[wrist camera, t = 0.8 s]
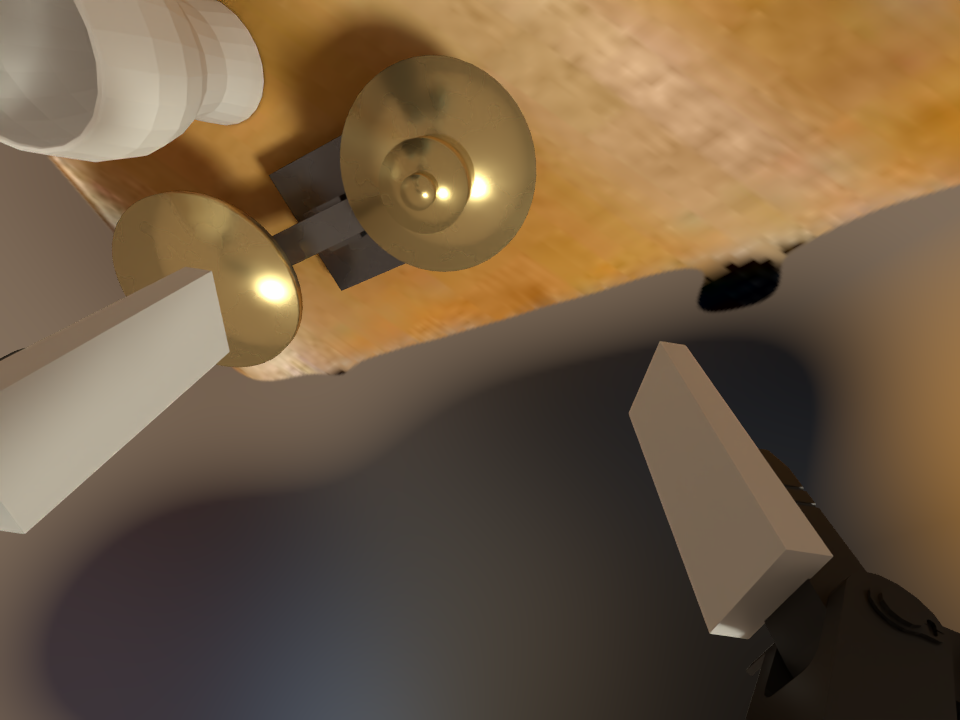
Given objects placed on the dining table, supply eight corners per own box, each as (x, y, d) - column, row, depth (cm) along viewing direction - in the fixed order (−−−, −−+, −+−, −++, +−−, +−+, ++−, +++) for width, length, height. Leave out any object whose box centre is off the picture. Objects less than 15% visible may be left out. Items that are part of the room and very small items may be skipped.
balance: (164, 213, 36) (17, 256, 25) (493, 26, 28) (480, -26, 17) (259, 337, 42) (172, 414, 31) (555, 212, 34) (574, 259, 23)
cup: (112, 62, 30) (-182, 25, 18) (173, -83, 26) (-157, -270, 13) (240, 176, 34) (71, 214, 21) (312, 65, 30) (156, 28, 17)
